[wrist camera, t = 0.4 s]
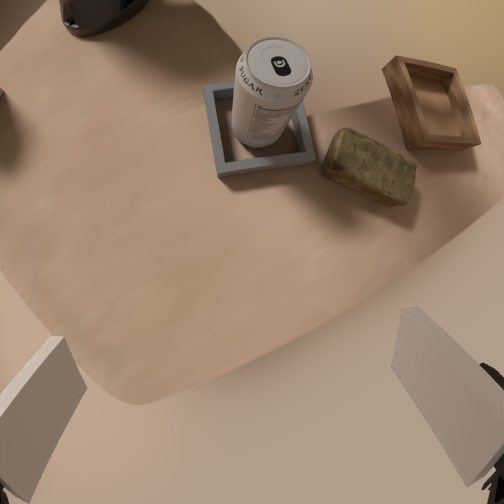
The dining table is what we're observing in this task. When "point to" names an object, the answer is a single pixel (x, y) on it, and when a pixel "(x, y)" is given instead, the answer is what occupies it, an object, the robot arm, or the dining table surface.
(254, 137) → the energy drink can
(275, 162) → the tray
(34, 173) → the dining table surface
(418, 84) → the walnut bin
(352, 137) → the stone block
